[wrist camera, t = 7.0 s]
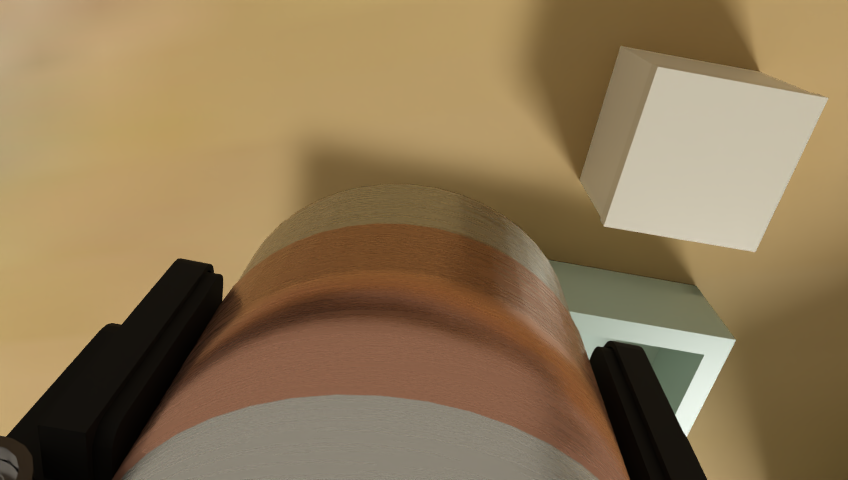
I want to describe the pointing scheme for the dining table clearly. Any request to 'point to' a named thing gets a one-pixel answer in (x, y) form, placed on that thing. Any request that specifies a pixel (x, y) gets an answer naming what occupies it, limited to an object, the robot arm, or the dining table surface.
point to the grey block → (695, 148)
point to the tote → (651, 328)
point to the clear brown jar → (386, 356)
